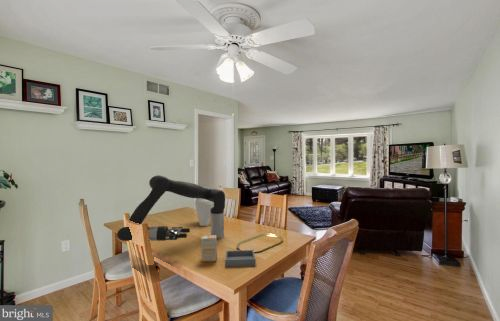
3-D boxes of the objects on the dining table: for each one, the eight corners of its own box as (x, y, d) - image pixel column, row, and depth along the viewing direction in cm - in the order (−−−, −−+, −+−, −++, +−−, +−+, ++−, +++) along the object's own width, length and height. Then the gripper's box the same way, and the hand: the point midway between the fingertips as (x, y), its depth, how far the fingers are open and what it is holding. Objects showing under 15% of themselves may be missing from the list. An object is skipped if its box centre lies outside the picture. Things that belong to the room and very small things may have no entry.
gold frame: (288, 240, 161) (288, 238, 161) (251, 257, 137) (251, 254, 137) (267, 234, 175) (267, 231, 175) (230, 247, 150) (230, 245, 150)
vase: (200, 228, 187) (199, 191, 186) (192, 224, 198) (191, 189, 197) (216, 224, 196) (216, 189, 195) (208, 220, 207) (207, 187, 206)
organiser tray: (226, 256, 136) (226, 250, 136) (253, 255, 137) (253, 249, 137) (225, 266, 125) (225, 260, 125) (255, 265, 126) (255, 259, 126)
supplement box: (217, 257, 135) (217, 234, 135) (216, 261, 131) (216, 237, 130) (202, 258, 135) (202, 235, 135) (201, 262, 130) (200, 238, 130)
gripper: (153, 230, 123) (185, 230, 124) (161, 222, 137) (190, 222, 138) (153, 245, 123) (185, 244, 124) (162, 235, 138) (190, 235, 139)
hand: (188, 232), depth 131 cm, fingers open, 8 cm apart
